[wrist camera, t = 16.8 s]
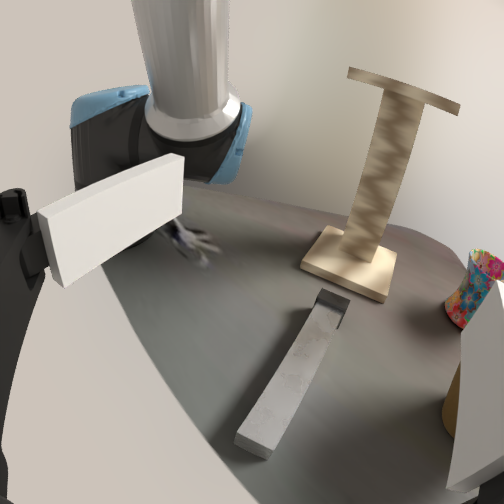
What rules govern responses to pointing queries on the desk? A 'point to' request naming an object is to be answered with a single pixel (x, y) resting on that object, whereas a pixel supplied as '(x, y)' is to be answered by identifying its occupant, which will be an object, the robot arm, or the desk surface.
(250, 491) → the desk surface
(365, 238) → the birch stand
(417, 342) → the desk surface
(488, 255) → the multicoloured narrow piece
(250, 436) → the metal block
